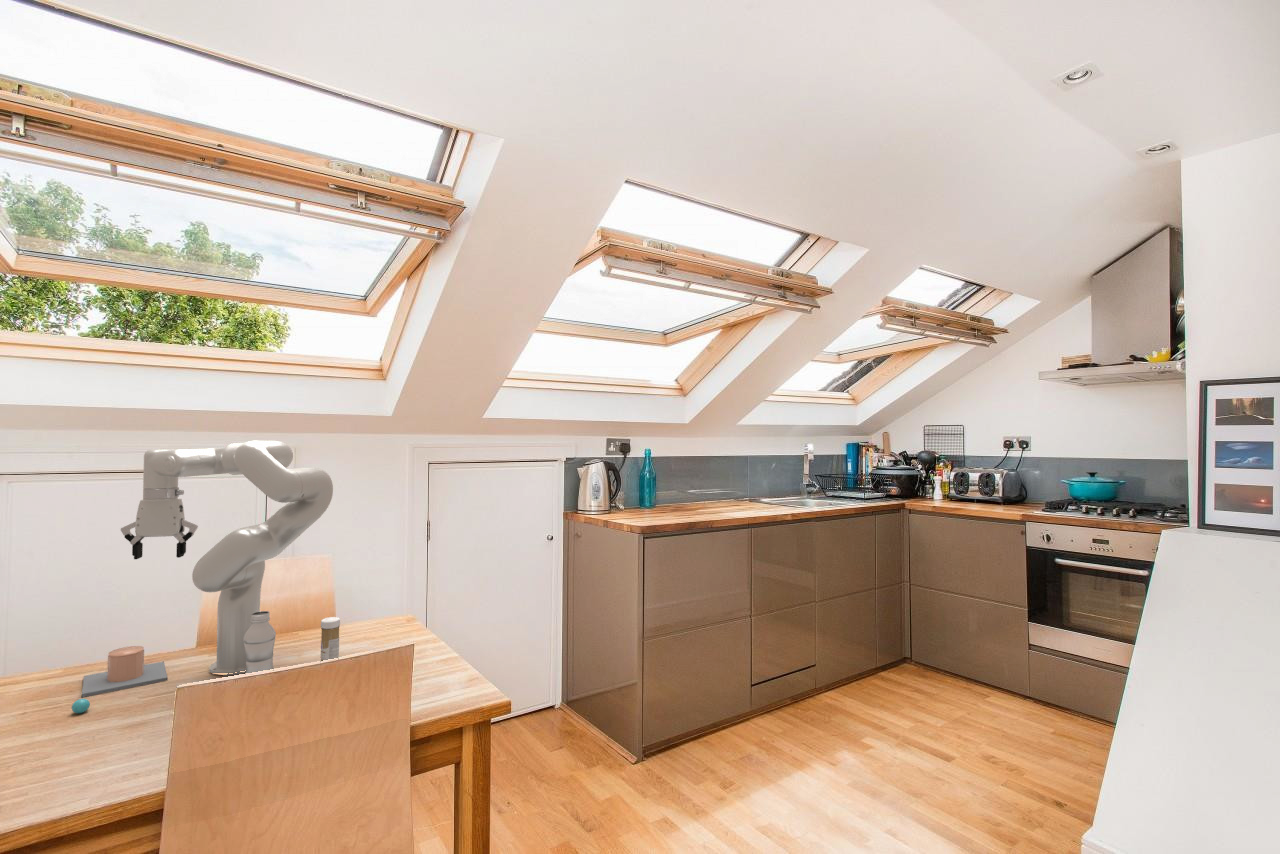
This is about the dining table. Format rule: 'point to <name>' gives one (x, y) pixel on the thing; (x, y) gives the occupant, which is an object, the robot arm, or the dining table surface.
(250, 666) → the plastic bottle
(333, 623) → the sprinkles bottle
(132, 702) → the dining table surface
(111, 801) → the dining table surface
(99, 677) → the slate mat
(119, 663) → the peach domed cylinder
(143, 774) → the dining table surface
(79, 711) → the teal ball
